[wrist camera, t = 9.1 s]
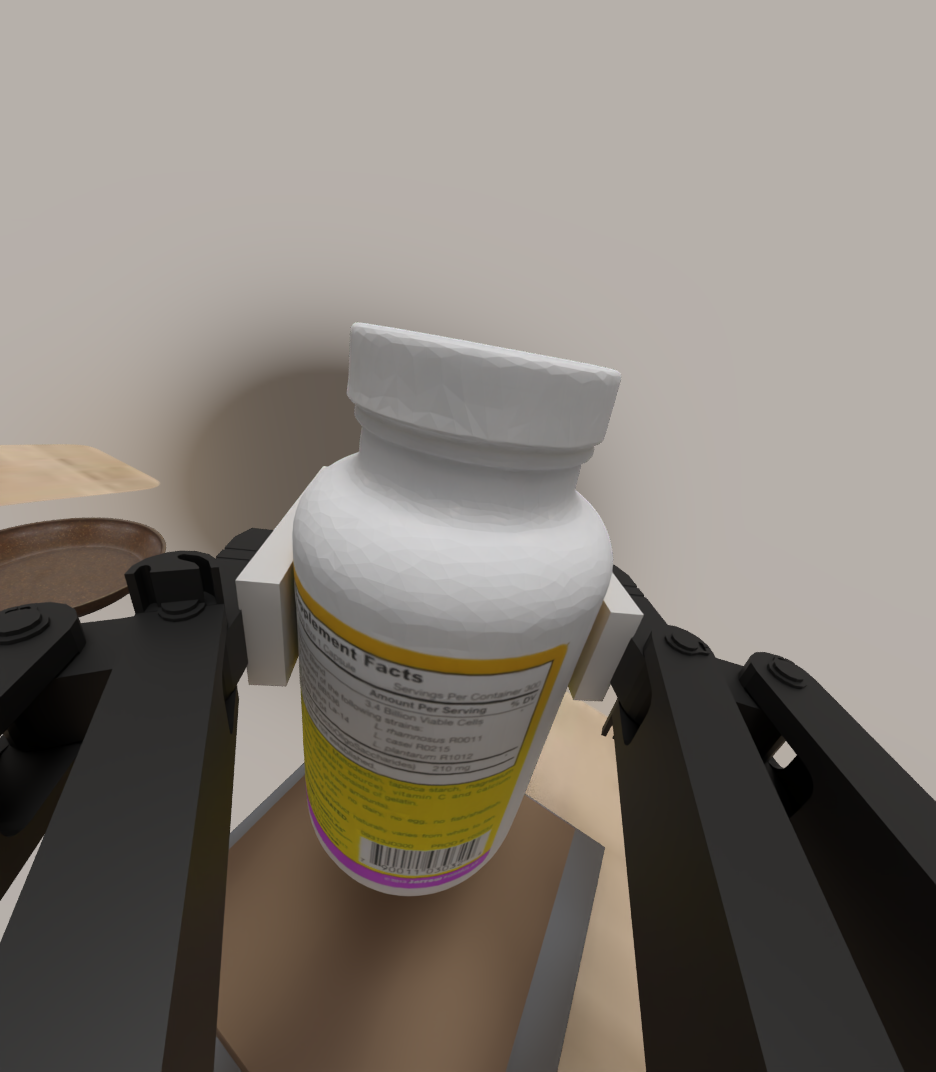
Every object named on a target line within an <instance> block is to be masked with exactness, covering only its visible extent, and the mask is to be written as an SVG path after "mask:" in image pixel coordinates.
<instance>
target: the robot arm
mask: <svg viewBox="0 0 936 1072" xmlns="http://www.w3.org/2000/svg"><path fill="white" fill-rule="evenodd" d="M326 468H327V467H326V466H323V467H322V469H321V470H320V471H319V472H318V474H317V475H316V476H315V478H316V477H317V476H318V475H319V474H320V473H321V472H322V471H324V470H325V469H326ZM315 478H314V479H315ZM314 479H313V480H314ZM313 480H312V481H313ZM312 481H311V482H312ZM309 485H310V484H309ZM309 485H308V486H309ZM306 489H307V488H306ZM306 489H305V490H306ZM304 492H305V491H304ZM304 492H303V493H304ZM303 493H302V494H301V496H302V495H303ZM301 496H300V497H299V498H298V500H297V501H296V502H295V504H294V505H293V506H292V507H291V509H290V510H289V511H288V513H287V514H286V515H285V516H284V518H283V519H282V520H281V522H280V523H279V524H278V526H277V527H276V528H275V529H274V530H267V529H257V528H251V529H249V530H247V531H245V532H243V533H241V534H239V535H237V536H235V537H234V538H233V539H232V540H231V541H230V542H229V543H228V545H227V546H226V547H225V550H222V551H221V552H220V553H219V554H218V555H217V556H216V559H215V558H214V557H212V556H211V555H209V554H206V553H201V552H197V551H175V552H168V553H162V554H158V555H155V556H152V557H148V558H145V559H144V560H142V561H140V562H138V563H136V564H134V565H132V566H131V567H130V568H129V570H128V571H127V572H126V573H125V574H124V576H125V579H126V583H127V586H128V590H129V593H130V596H131V600H132V603H133V607H134V611H135V616H133V617H127V618H121V619H112V620H104V621H97V622H88V623H80V620H79V618H78V615H77V612H76V610H75V609H74V608H72V607H70V606H69V605H67V604H62V603H55V602H43V603H30V604H25V605H20V606H15V607H11V608H7V609H4V610H2V611H0V736H1V735H2V734H3V735H2V736H1V738H0V900H1V899H2V897H3V896H4V894H5V893H6V891H7V890H8V889H9V887H10V885H11V884H12V882H13V881H14V879H15V878H16V876H17V875H18V874H19V872H20V870H21V869H22V867H23V866H24V864H25V863H26V861H27V860H28V858H29V857H30V855H31V854H32V852H33V851H34V849H35V848H36V846H37V845H38V843H39V842H40V840H41V839H42V837H43V836H44V837H43V840H42V842H41V845H40V847H39V850H38V852H37V855H36V857H35V860H34V862H33V864H32V867H31V869H30V872H29V874H28V876H27V879H26V881H25V884H24V886H23V889H22V891H21V893H20V896H19V898H18V901H17V903H16V906H15V908H14V910H13V913H12V916H11V918H10V920H9V923H8V925H7V928H6V930H5V932H4V935H3V937H2V940H1V942H0V1072H214V1059H215V1044H216V1030H217V1015H218V1000H219V985H220V971H221V956H222V941H223V926H224V912H225V897H226V882H227V867H228V853H229V838H230V823H231V808H232V794H233V779H234V764H235V749H236V735H237V720H238V705H239V696H238V690H237V683H238V682H239V679H240V678H241V676H242V674H243V672H244V670H245V668H246V667H247V673H248V682H249V685H267V686H268V685H269V686H286V685H287V683H288V680H289V678H290V676H291V673H292V671H293V668H294V666H295V663H296V661H297V658H298V656H299V651H298V631H297V614H296V600H295V586H294V566H293V542H292V531H293V522H294V517H295V513H296V509H297V507H298V504H299V501H300V499H301ZM610 684H611V685H612V687H613V689H614V691H615V693H616V695H617V697H618V698H617V700H616V702H615V704H614V706H613V708H612V710H611V712H610V714H609V716H608V718H607V720H606V722H605V724H604V726H603V728H602V734H601V735H603V736H606V735H607V733H608V731H609V730H610V728H611V726H613V731H614V736H613V739H614V742H615V752H616V762H617V773H618V783H619V793H620V804H621V814H622V825H623V835H624V845H625V856H626V866H627V876H628V887H629V897H630V907H631V918H632V928H633V938H634V949H635V959H636V970H637V980H638V990H639V1001H640V1011H641V1021H642V1032H643V1042H644V1052H645V1063H646V1072H936V801H935V800H934V799H933V798H932V797H931V796H930V795H929V794H928V793H926V791H925V790H924V789H923V788H922V787H921V786H920V785H919V784H918V783H917V782H916V781H915V780H914V779H913V778H912V777H911V776H910V775H909V774H908V773H907V772H906V771H905V770H904V769H903V768H902V767H901V766H900V765H899V764H898V763H897V762H896V761H895V760H894V759H893V758H892V757H891V756H890V755H889V754H888V753H887V752H886V751H885V750H884V749H883V748H882V747H881V746H880V745H879V744H878V743H877V742H876V741H875V740H874V739H873V738H872V737H871V736H870V735H869V734H868V733H867V732H866V731H865V730H864V729H863V728H862V727H861V725H860V724H859V723H857V722H856V720H855V719H854V718H853V717H852V716H851V715H850V714H849V713H848V712H847V711H846V710H845V709H844V708H843V707H842V706H841V705H840V704H839V703H838V702H837V701H836V700H835V699H834V698H833V697H832V696H831V695H830V694H829V693H828V692H827V691H826V690H825V689H824V688H823V687H822V686H821V685H820V684H819V683H818V682H817V681H816V680H815V679H814V678H813V677H812V676H810V675H809V674H808V673H807V672H806V671H804V670H803V669H802V668H800V667H798V666H797V665H795V664H794V663H793V662H792V661H790V660H788V659H786V658H785V659H784V658H783V657H780V656H778V655H773V654H770V653H766V652H756V653H754V654H753V655H751V656H750V658H749V659H748V661H747V662H746V664H745V665H744V666H741V665H738V664H734V663H731V662H728V661H724V660H721V659H718V658H715V656H714V654H713V652H712V651H711V649H710V648H709V647H708V645H707V644H705V643H704V642H703V641H702V640H701V639H700V638H698V637H697V636H695V635H693V634H691V633H690V632H688V631H686V630H684V629H681V628H679V627H676V626H670V625H667V624H666V622H665V621H664V620H663V618H662V617H661V616H660V615H659V614H658V612H657V611H656V610H655V608H654V607H653V606H652V604H651V603H650V602H649V601H648V599H647V598H645V597H644V594H643V593H642V592H641V591H640V590H639V588H637V586H636V584H635V583H634V582H633V580H632V579H631V578H630V577H629V575H627V574H626V573H625V572H623V571H622V570H621V569H619V568H618V567H617V566H615V565H613V569H612V576H611V580H610V583H609V587H608V590H607V593H606V595H605V598H604V600H603V602H602V605H601V607H600V610H599V612H598V614H597V617H596V619H595V621H594V624H593V626H592V629H591V631H590V633H589V636H588V638H587V640H586V643H585V645H584V648H583V650H582V652H581V655H580V657H579V659H578V662H577V664H576V667H575V669H574V672H573V674H572V677H571V679H570V682H569V684H568V687H569V690H570V692H571V695H572V698H573V700H584V701H603V699H604V697H605V695H606V693H607V690H608V689H609V686H610ZM785 741H787V743H788V744H789V745H790V746H791V748H792V749H793V750H794V752H795V753H796V754H797V756H796V757H795V758H794V759H793V760H792V761H791V762H790V764H789V765H788V766H787V767H785V768H782V767H781V766H780V765H779V764H778V763H777V762H776V761H775V759H774V758H773V755H774V754H775V753H776V752H777V750H778V749H779V748H780V747H781V746H782V745H783V744H784V742H785ZM44 834H45V835H44Z"/></svg>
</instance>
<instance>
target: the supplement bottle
mask: <svg viewBox="0 0 936 1072" xmlns="http://www.w3.org/2000/svg"><path fill="white" fill-rule="evenodd" d="M349 352H350V353H349V379H348V387H347V395H348V397H349V399H350V400H351V401H352V402H353V403H354V404H356V405H355V411H354V412H355V413H354V414H355V417H356V419H357V421H358V422H359V423H360V424H361V425H362V430H361V437H360V448H359V452H357V453H355V454H352V455H349V456H347V457H345V458H343V459H341V460H339V461H337V462H335V463H333V464H332V465H330V466H329V467H327V468H326V469H325V470H324V471H322V472H321V473H320V474H319V475H318V476H317V477H316V478H315V479H314V480H313V481H312V482H311V483H310V485H309V486H308V487H307V489H306V490H305V492H304V493H303V495H302V496H301V499H300V501H299V504H298V507H297V509H296V513H295V517H294V522H293V531H292V542H293V566H294V586H295V600H296V614H297V631H298V651H299V670H300V686H301V704H302V723H303V745H304V760H305V780H306V793H307V803H308V809H309V814H310V818H311V822H312V825H313V827H314V830H315V833H316V835H317V837H318V839H319V841H320V843H321V845H322V847H323V848H324V850H325V851H326V852H327V854H328V855H329V857H330V858H331V859H332V860H333V861H334V862H335V863H336V864H337V865H338V866H339V868H340V869H342V870H343V871H344V872H345V873H346V874H348V875H349V876H350V877H351V878H353V879H354V880H356V881H357V882H359V883H361V884H363V885H365V886H367V887H369V888H371V889H374V890H377V891H379V892H383V893H386V894H391V895H398V896H421V895H428V894H433V893H437V892H440V891H444V890H446V889H449V888H451V887H453V886H456V885H458V884H459V883H461V882H463V881H465V880H466V879H468V878H469V877H471V876H472V875H473V874H475V873H476V872H477V871H478V870H480V869H481V868H482V867H483V866H484V865H485V864H486V863H487V862H488V861H489V860H490V859H491V858H492V857H493V856H494V854H495V853H496V852H497V850H498V849H499V847H500V846H501V844H502V843H503V841H504V839H505V837H506V836H507V834H508V832H509V829H510V827H511V825H512V823H513V820H514V818H515V816H516V813H517V811H518V809H519V806H520V804H521V801H522V799H523V796H524V794H525V791H526V789H527V786H528V784H529V781H530V779H531V776H532V774H533V771H534V769H535V766H536V764H537V761H538V759H539V756H540V754H541V751H542V749H543V746H544V744H545V741H546V739H547V736H548V734H549V731H550V729H551V726H552V724H553V721H554V719H555V716H556V714H557V711H558V709H559V706H560V704H561V701H562V699H563V697H564V694H565V692H566V689H567V687H568V684H569V682H570V679H571V677H572V674H573V672H574V669H575V667H576V664H577V662H578V659H579V657H580V655H581V652H582V650H583V648H584V645H585V643H586V640H587V638H588V636H589V633H590V631H591V629H592V626H593V624H594V621H595V619H596V617H597V614H598V612H599V610H600V607H601V605H602V602H603V600H604V598H605V595H606V593H607V590H608V587H609V583H610V580H611V576H612V569H613V552H612V547H611V541H610V537H609V535H608V532H607V529H606V527H605V525H604V523H603V521H602V519H601V517H600V516H599V514H598V513H597V511H596V510H595V509H594V508H593V506H592V505H591V504H590V503H589V502H588V501H587V500H586V499H585V498H584V497H583V496H582V495H581V494H580V493H579V492H578V491H576V490H575V488H576V484H577V480H578V476H579V472H580V468H581V464H583V463H585V462H587V461H588V460H589V459H590V458H591V457H592V455H593V452H594V446H595V445H598V444H600V443H601V442H602V441H603V439H604V437H605V434H606V430H607V427H608V423H609V420H610V416H611V413H612V409H613V406H614V403H615V399H616V395H617V392H618V388H619V385H620V382H621V374H620V372H619V371H616V370H614V369H610V368H606V367H601V366H596V365H592V364H587V363H582V362H577V361H571V360H566V359H560V358H555V357H550V356H545V355H539V354H534V353H529V352H523V351H518V350H513V349H507V348H502V347H496V346H491V345H486V344H481V343H476V342H470V341H465V340H459V339H454V338H449V337H442V336H437V335H432V334H426V333H420V332H415V331H409V330H403V329H398V328H392V327H385V326H379V325H373V324H367V323H358V322H357V323H354V324H353V325H352V326H351V331H350V351H349Z"/></svg>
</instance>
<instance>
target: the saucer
mask: <svg viewBox="0 0 936 1072" xmlns="http://www.w3.org/2000/svg"><path fill="white" fill-rule="evenodd" d="M165 550H166V543H165V540H164V538H163V537H162V535H161V534H160V533H159V532H158V531H156V530H155V529H153V528H151V527H149V526H147V525H144V524H141V523H137V522H132V521H128V520H122V519H113V518H70V519H60V520H51V521H43V522H36V523H30V524H25V525H20V526H15V527H11V528H7V529H3V530H0V611H2V610H4V609H7V608H11V607H15V606H20V605H25V604H30V603H43V602H55V603H62V604H67V605H69V606H70V607H72V608H74V609H75V610H76V612H77V615H78V617H82V616H84V615H87V614H90V613H93V612H95V611H97V610H99V609H102V608H104V607H106V606H108V605H110V604H112V603H114V602H116V601H117V600H119V599H121V598H122V597H124V596H126V595H127V594H129V590H128V586H127V583H126V579H125V576H124V574H125V573H126V572H127V571H128V570H129V568H130V567H131V566H132V565H134V564H136V563H138V562H140V561H142V560H144V559H145V558H148V557H152V556H155V555H158V554H162V553H165Z"/></svg>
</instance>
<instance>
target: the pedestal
mask: <svg viewBox="0 0 936 1072" xmlns="http://www.w3.org/2000/svg"><path fill="white" fill-rule="evenodd" d="M604 850H605V847H604V846H602V845H601V844H599V843H598V842H596V841H595V840H593V839H592V838H590V837H589V836H587V835H586V834H584V833H583V832H581V831H580V830H578V829H577V828H575V827H574V826H572V825H571V824H569V823H568V822H566V821H565V820H563V819H562V818H560V817H559V816H557V815H556V814H554V813H553V812H551V811H550V810H549V809H547V808H546V807H544V806H543V805H541V804H540V803H538V802H537V801H535V800H534V799H532V798H531V797H529V796H528V795H526V794H524V796H523V799H522V801H521V804H520V806H519V809H518V811H517V813H516V816H515V818H514V820H513V823H512V825H511V827H510V829H509V832H508V834H507V836H506V837H505V839H504V841H503V843H502V844H501V846H500V847H499V849H498V850H497V852H496V853H495V854H494V856H493V857H492V858H491V859H490V860H489V861H488V862H487V863H486V864H485V865H484V866H483V867H482V868H481V869H480V870H478V871H477V872H476V873H475V874H473V875H472V876H471V877H469V878H468V879H466V880H465V881H463V882H461V883H459V884H458V885H456V886H453V887H451V888H449V889H446V890H444V891H440V892H437V893H433V894H428V895H421V896H398V895H391V894H386V893H383V892H379V891H377V890H374V889H371V888H369V887H367V886H365V885H363V884H361V883H359V882H357V881H356V880H354V879H353V878H351V877H350V876H349V875H348V874H346V873H345V872H344V871H343V870H342V869H340V868H339V866H338V865H337V864H336V863H335V862H334V861H333V860H332V859H331V858H330V857H329V855H328V854H327V852H326V851H325V850H324V848H323V847H322V845H321V843H320V841H319V839H318V837H317V835H316V833H315V830H314V827H313V825H312V822H311V818H310V814H309V809H308V803H307V793H306V780H305V762H304V763H303V764H302V765H301V766H300V767H299V768H298V769H297V770H296V771H295V772H294V773H293V774H292V775H291V776H290V777H289V778H288V779H286V780H285V781H284V782H283V783H282V784H281V785H280V786H279V787H278V788H277V789H276V790H275V791H274V792H273V793H272V794H271V795H270V796H269V797H268V798H267V799H266V800H265V801H263V802H262V803H261V804H260V805H259V806H258V807H257V808H256V809H255V810H254V811H253V812H252V813H251V814H250V815H249V816H248V817H247V818H246V819H245V820H244V821H243V822H242V823H241V824H239V825H238V827H236V828H235V829H234V830H233V831H232V832H231V833H230V838H229V853H228V867H227V882H226V897H225V912H224V926H223V941H222V956H221V971H220V985H219V1000H218V1015H217V1030H216V1044H215V1059H214V1072H557V1070H558V1065H559V1060H560V1056H561V1051H562V1046H563V1042H564V1037H565V1032H566V1028H567V1023H568V1018H569V1014H570V1009H571V1004H572V1000H573V995H574V990H575V986H576V981H577V976H578V972H579V967H580V962H581V958H582V953H583V948H584V943H585V939H586V934H587V929H588V925H589V920H590V915H591V911H592V906H593V901H594V897H595V892H596V887H597V883H598V878H599V873H600V869H601V864H602V859H603V855H604Z"/></svg>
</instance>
